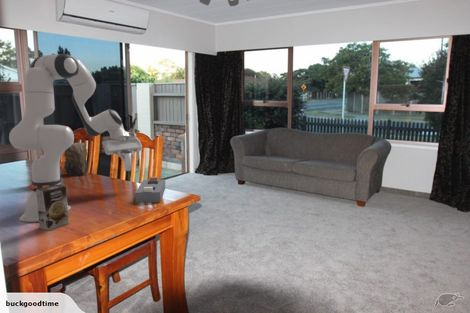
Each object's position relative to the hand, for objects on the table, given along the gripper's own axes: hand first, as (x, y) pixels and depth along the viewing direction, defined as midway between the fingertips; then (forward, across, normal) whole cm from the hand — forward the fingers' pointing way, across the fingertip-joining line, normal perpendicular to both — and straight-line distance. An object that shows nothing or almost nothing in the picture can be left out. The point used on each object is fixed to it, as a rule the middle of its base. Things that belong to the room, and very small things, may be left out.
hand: (127, 158), depth 191 cm
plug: (+4, 0, +5) cm, 7 cm away
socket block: (+23, +6, +2) cm, 24 cm away
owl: (-27, -10, +53) cm, 60 cm away
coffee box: (+33, -45, -7) cm, 56 cm away
